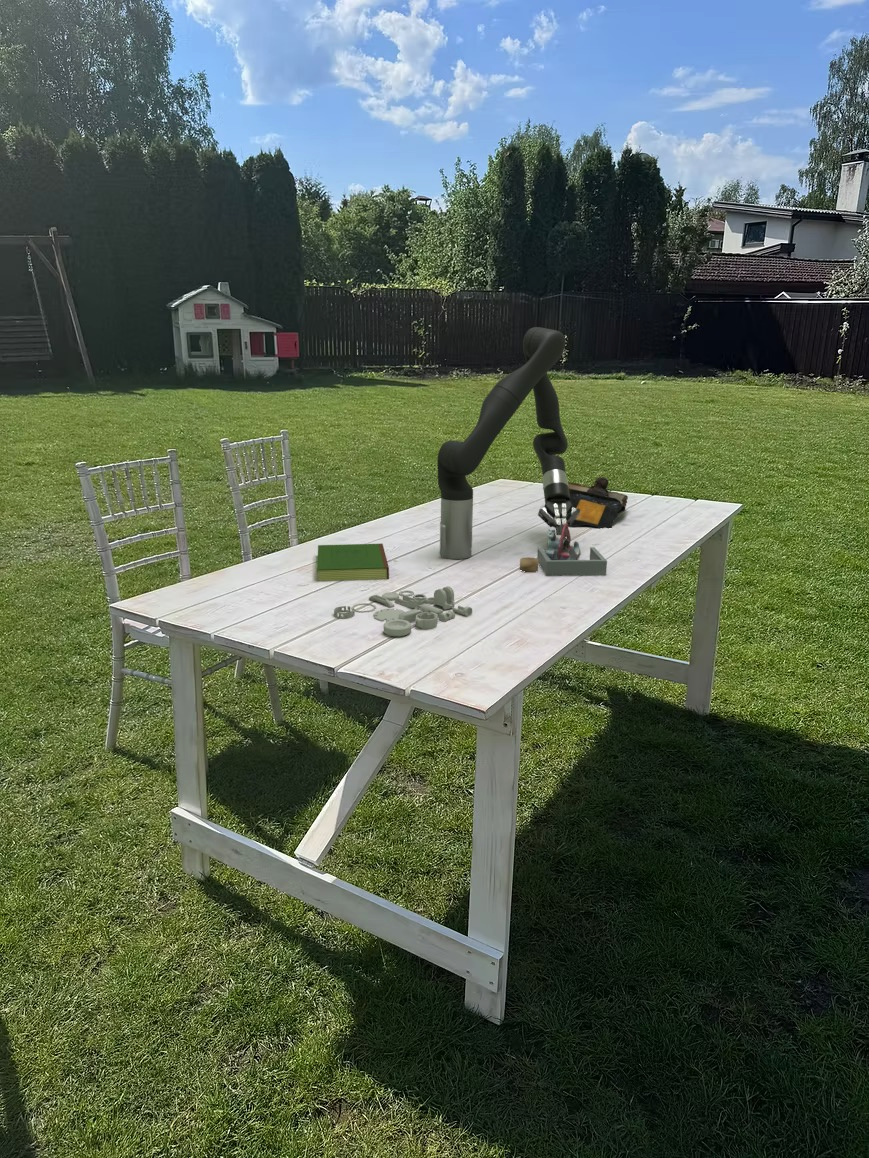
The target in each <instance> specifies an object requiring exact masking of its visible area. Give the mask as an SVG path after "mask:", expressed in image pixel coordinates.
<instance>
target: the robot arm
mask: <svg viewBox="0 0 869 1158" xmlns="http://www.w3.org/2000/svg"><path fill="white" fill-rule="evenodd" d="M565 347H566V337H565V335H564V334H563V332H561V331H559V330H556V329H551V328H545V327H539V326H536V327H535V326H534V327H531V328H529V329H528V330H527V331H526V332H525V335H524V336H523V340H522V350H523V355H524V359H525V364H524V365H523V364H522V366H521V367H519V368H518V369H515V370H514V371H512V372H511V373H509V374H507V375H506V376H504V377H503V378H501V379H500V380H499V381H498V382H497V383H496V384H495V385H494V386H493V387H492V389H491V390H490V391H489V393H487V395H486V397H484V400H483V402H482V404H481V407H480V412H479V416H478V420H477V424H476V425H475V427H474V428H473V430H472V431H471V432H470V434H469V435H468V436H467V437H466V438H465V439H464V440H463V441H459V440H456V439H455V440H454V439H452V440H447V441H445V442H444V443H443V444H441V446H440V448H439V450H438V453H437V463H436V464H437V484H438V488H439V491H440V521H439V555H440V558H441V559H451V560H462V559H463V560H464V559H468V558H471V557H472V554H473V553H472V552H473V523H474V522H473V520H474V518H473V517H474V516H473V515H474V513H473V511H474V489H473V487H472V486H471V485H470V484H469V482H468V480H467V478H466V476H469V475H471V474H472V473H473V472H475V471H476V470H477V468H478V467H479V465H480V464H481V462H482V460H483V459H484V457H485V456H486V454H487V452H488V450H489V449H490V447H491V445H492V444H493V442H494V441H495V439H496V438H497V437H498V436H499V434H500V433H501V431H503V428H504V427H505V426H506V424H508V422H509V421H510V419H511V418H512V417H513V416H514V415H515V413H516V412H517V410H518V409H519V408H520V407H521V405H522V404H523V403H524V400H525V399H526V398H527V397H528V395H529V394H530V393H531V391H532V390H533V391H532V392H533V397H534V403H535V413H536V414H535V415H536V425H537V427H539V428H540V429H543V430H551V431H552V432H551V431H549V432H544V433H538V434H536V435H535V436H534V438H533V440H532V448H533V450H534V453H535V455H536V456H537V458H538V461H539V463H540V467H541V473H542V474H541V475H542V490H543V495H544V503H545V504H544V506H543V507H542V508H540V509H539V510H538V512H537V516H538V517H539V518H540V519H541V520H542V521H543V522H544V523H545V524H547V526H548V527H550V528H552V527H553V528H555V535H561V534H562V530H563V528H564V524H565V523H567V524H568V528H570V526H571V525H572V523H573V522H574V521H575V519H576V518H577V517H578V515H579V513H580V509H579V508H578V509H576V508H574V507H573V505H572V503H571V501H570V494H569V487H568V482H569V480H568V477H567V473H566V467H565V464H566V463H565V460H564V458H563V457H561V456H560V455H562V454H564V453H566V451H567V449H568V447H569V442H568V439H567V436H566V434H565V432H564V428H563V426H562V422H561V416H560V404H559V402H560V401H559V397H558V394H557V391H556V389H555V387H554V385H553V384H552V381H551V379H550V377H549V374H548V372H549V371H550V369H552V367H553V366H554V365H555V364H556V363H557V362H558V361H559V360H560V358H561V357H562V354H564V351H565ZM570 511H572V513H571V515H572V516H571V517H570V518H569V520H568V521H567V520H566V517H567V516H568V514H569V513H570ZM565 538H567V537H566V536H565Z"/></svg>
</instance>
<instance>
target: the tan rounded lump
mask: <svg viewBox="0 0 869 1158" xmlns="http://www.w3.org/2000/svg"><path fill="white" fill-rule="evenodd" d="M520 570H522V571H525V572H524V573H526V572H534V573H537V572H538V571H539V563H538V559H537V558H536V557H530V556H529V557H522V558H520V560H519V571H520ZM522 571H521V572H522ZM536 571H537V572H536Z"/></svg>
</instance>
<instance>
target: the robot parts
mask: <svg viewBox="0 0 869 1158" xmlns="http://www.w3.org/2000/svg"><path fill="white" fill-rule="evenodd" d="M404 593H405V594H404ZM406 593H409V594H406ZM400 596H401V597H402V599H401V598H400ZM368 601H371V602H378V603H381V604H383V605H385V606H386V607H387V608H383V609H380V610H377V606H376V605H375V604H373V603H369V602H368V603H367V602H364V603H356V604H353V606H346V605H342V606H337V607H335V608H334V609H333V617H335V618H336V619H342V620H343V619H344V620H345V619H350V618H351V619H352V618H353V617H355V613H360V614H361V613H363V614H364V613H370V612H373V611H375V610H377V611H375V612H374V613H373V614H372V617H373V619H375V620H376V621H379V622H384V621H385V622H384V623H383V633H384V634H386V635H387V636H390V637H395V638H396V637H405V636H407V635H409V634H410V633H411V632H412V623H415V627H416V628H419V629H420V630H421V629H422V630H430V629H432V630H433V629H434V628H437V625H438V622H439V621H442V622H448V621H449V620H453V619H455V617H456V613H457V614H459V615H462V616H464V617H470V616H471V615H472V614H473V608H472V607H470V606H462V605H458V606H457V608H456V607H455V591H454V590H453V588H452V587H451V586H445V587H443V588H438V589H436V590H434V592H433V597H427V595H426V594H424V593H423V594H422V593H416V594H415V592H414V591H413V590H402V591H399V592H398V593H397V592H394V591H390V592H388V591H387V592H384V593H383V594H382V595H378V594H375V595H370V596H369V597H368ZM393 601H394V603H396V604H398V605H400V606H404V607H406V608H410V609H409V610H408V611H404V609H399V608H395V609H394V607H395V605H394V604H393ZM364 605H365V606H371V607H373V608H372V609H370V610H358V609H357V610H356V609H355V608H356V607H358V606H364ZM444 610H445V611H446V610H449V611H446V612H444ZM342 615H343V616H342ZM438 620H439V621H438Z"/></svg>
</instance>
